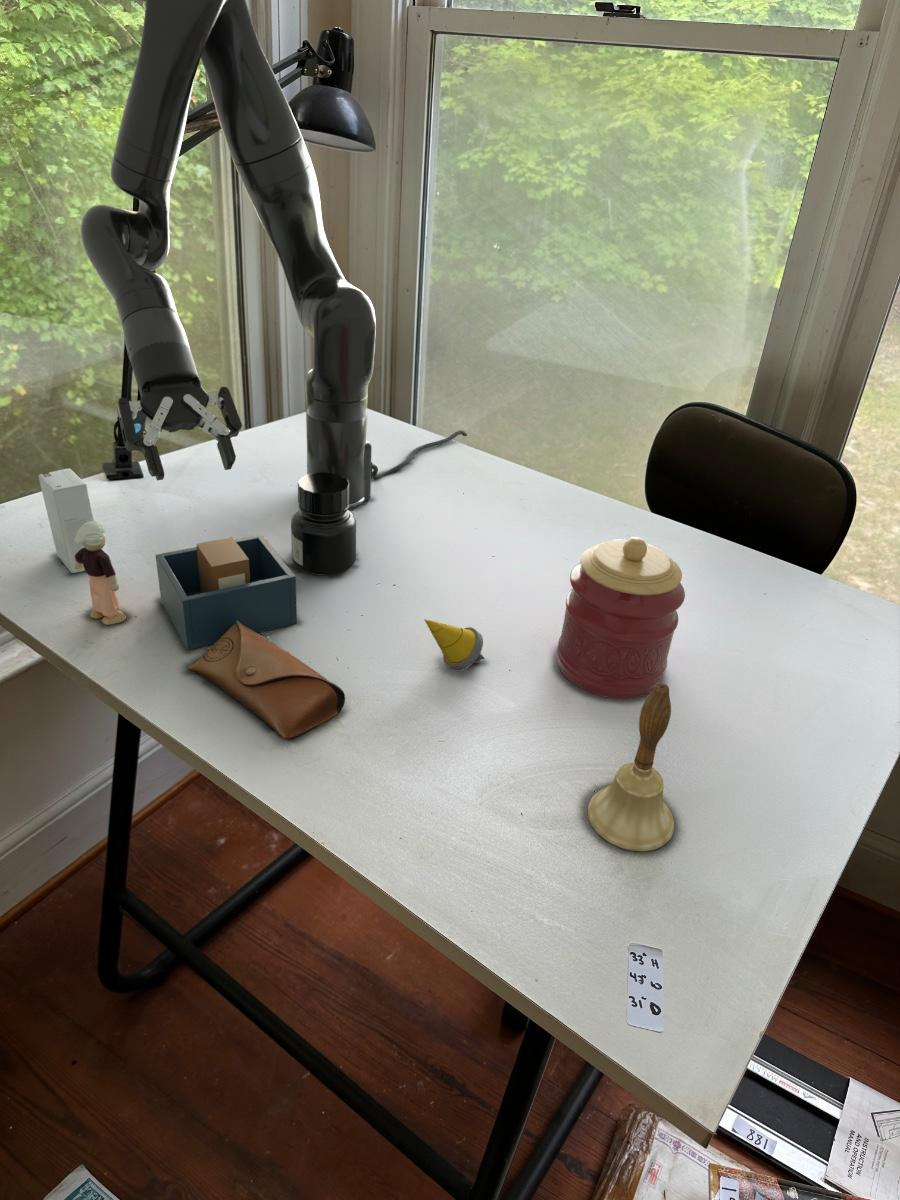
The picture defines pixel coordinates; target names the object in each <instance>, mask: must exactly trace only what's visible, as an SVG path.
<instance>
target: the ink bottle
mask: <svg viewBox="0 0 900 1200" xmlns="http://www.w3.org/2000/svg"><path fill="white" fill-rule="evenodd" d="M349 489H350V483H349V482H348V479H346V478H344V477H343V476H340V475H337V474H334V473H326V472H323V473H313V474H308V475H307V474H305V475H303V476H302V477H300V478H299V480H298V481H297V503H298V510H297V511H296V512H295V513H294V514H293V515H292V517H291V520H290V539H291V541H290V543H291V544H290V545H291V560H292V563H293V565H294V566H295V568H297V569H298V570H299V571H301V572H304V573H307V574H311V575H315V576H317V575H318V576H334V575H339V574H343V573H344V572H347V571H348V570H349V569H351V568H352V567H353V566H354V564H355V563H356V560H357V525H358V524H357V519H356V517H355V515H354V513H352V511H350V510H349V509H350V508H349Z"/></svg>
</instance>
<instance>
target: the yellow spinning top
mask: <svg viewBox="0 0 900 1200" xmlns="http://www.w3.org/2000/svg"><path fill="white" fill-rule="evenodd" d="M424 622H425V624H426V627H428V630H429V632H430V633H431V635H432V637H433V638H434V640H435V642H436V644H437V645H438V648H439V649H440V651H441V653H442V655H443V657H442V659H443V662H444V664H445V665H446V666H447V667H448V668H450V669H451V670H453V671H455V672H460V671H464V670H466V669H467V668H470V667H471V665H473V664H474V663H475V664H476V663H477V664H481V663H482V662H481V660H484V659H486V658H485V656H484V655H483V654H482V650H483V647H484V638H483V635H482V634H481V632H479V631H477V629H475V628H474V627H469V626H467V627H464V628H463V627H460V626H459V627H458V626H455V625H451V624H447V623H443V622H439V621H435V620H430V619H427V618H425V619H424Z"/></svg>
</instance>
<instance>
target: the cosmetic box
mask: <svg viewBox="0 0 900 1200" xmlns="http://www.w3.org/2000/svg"><path fill="white" fill-rule="evenodd" d="M38 479H39V485H40V488H41V493H42V497H43V498H42V499H43V501H44V506H45V509H46V513H47V518H48V522H49V527H50V531H51V534H52V535H51V536H52V539H53V543H54V548H55V552H56V556H57V557H58V558H59V559H60V561H61V562H62V563H63V564H64V565H65V567H66V568H67V569H68V571H69V572H70V573H71V574H76V573H82V572H85V569H84V567H83V568H82V569H77V568H76V567H75V563H76V562H75V561H76V559H75V554H76V553H77V552H78V551H79V550H81V549H82V548H84V546H83V544H78V543H76V542H75V541H74V540H75V537H76V535H77V532H78V530H79V529H80V527H81V526H82V525H84V524H85V523H87V522H90V521H94V517H93V511H92V506H91V502H90V497H89V491H88V487H87V483H86V482H85V481H83V479H81V477H80V476H79V475H78V474H76V473H75V472H74V471H73V469H71V467H69V468H63V469H59V470H55V471H54V470H53V471H49V472H44V473H40V474H38Z"/></svg>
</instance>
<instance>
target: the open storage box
mask: <svg viewBox="0 0 900 1200" xmlns="http://www.w3.org/2000/svg"><path fill="white" fill-rule="evenodd" d="M234 540H235V542H236V543H237V544H238V546H239V547H240V548H241V550H242V551H243V552H244V554H245V555H246V556H247V558H248V559H249V571H250V583H247V584H243V585H238V586H233V587H229V588H224V589H220V590H215V591H210V592H206V593H201V588H200V578H199V568H198V558H197V547H196V546H193V547H188V548H184V549H178V550H174V551H173V550H172V551H167V552H162V553H158V554H155V562H156V570H157V571H156V572H157V578H158V586H159V594H160V601H161V603H162V605H163V607H164V609H165V611H166V612H167V615H168V616H169V618H170V620H171V622H172V624H173V625H174V627H175V629H176V631H177V633H178V635H179V637H180V639H181V640H182V642H183V644H184V646H185V648H186V649H187V651H190V650H194V649H197V648H203V647H206V646H210V645H213V644H214V643H215V642H217V640H219V639H220V638H221V637H222V635H224V634H225V633H226V632H227V631H228V630H229V629H230V628H231V627H232V626H233V625H234V624H235V623H236V622H235V620H237V621H239V622H240V623H241V624H243V625H244V626H246V627H247V628H249V629H251V630H253V631H254V632H256V633H258V634H259V633H262V632H263V633H264V632H267V631H272V630H275V629H279V628H283V627H287V626H291V625H295V624H298V606H297V604H298V603H297V576H296V575H295V574H294V572H293V571H292V569H290V567H289V566H288V565H287V564H286V562H285V561H284V559H282V557H281V556H280V555H279V554H278V552H277V551H276V550H275V548H274V547H273V546H272V545H271V543H270V542H269V541H268V540H267V539H266V538H265V536H264V535H263V534H258V535H252V536H246V537H241V538H235V539H234Z"/></svg>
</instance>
